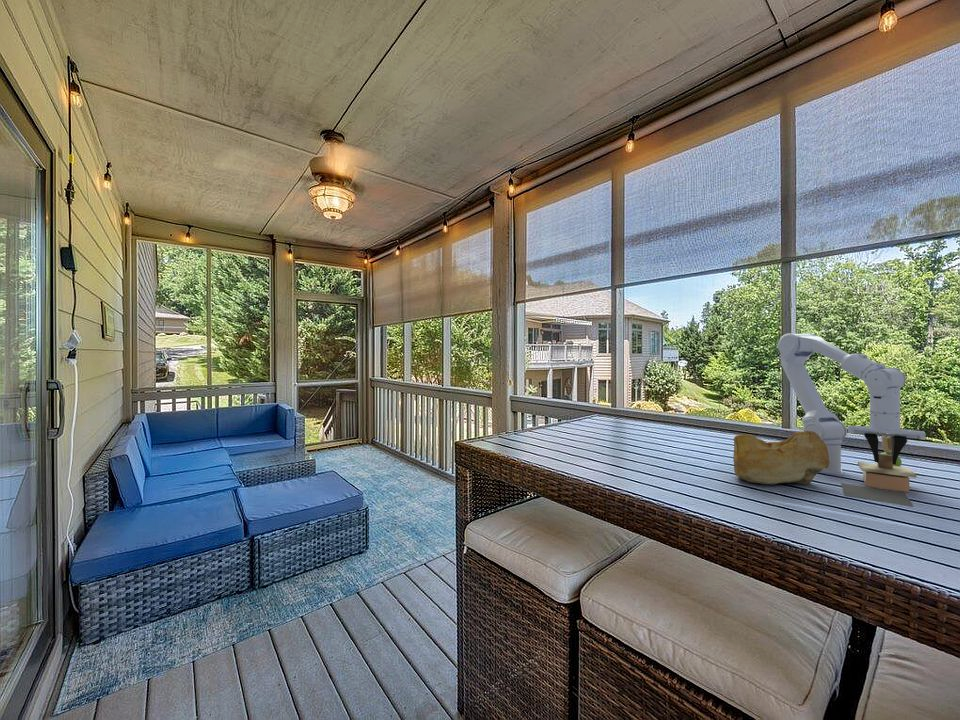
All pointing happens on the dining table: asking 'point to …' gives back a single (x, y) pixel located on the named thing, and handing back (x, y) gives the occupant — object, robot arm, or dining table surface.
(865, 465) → the lid
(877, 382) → the robot arm
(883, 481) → the tan square open box
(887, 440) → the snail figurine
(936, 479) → the dining table surface
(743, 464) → the rough brown rock
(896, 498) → the mat
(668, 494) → the dining table surface
